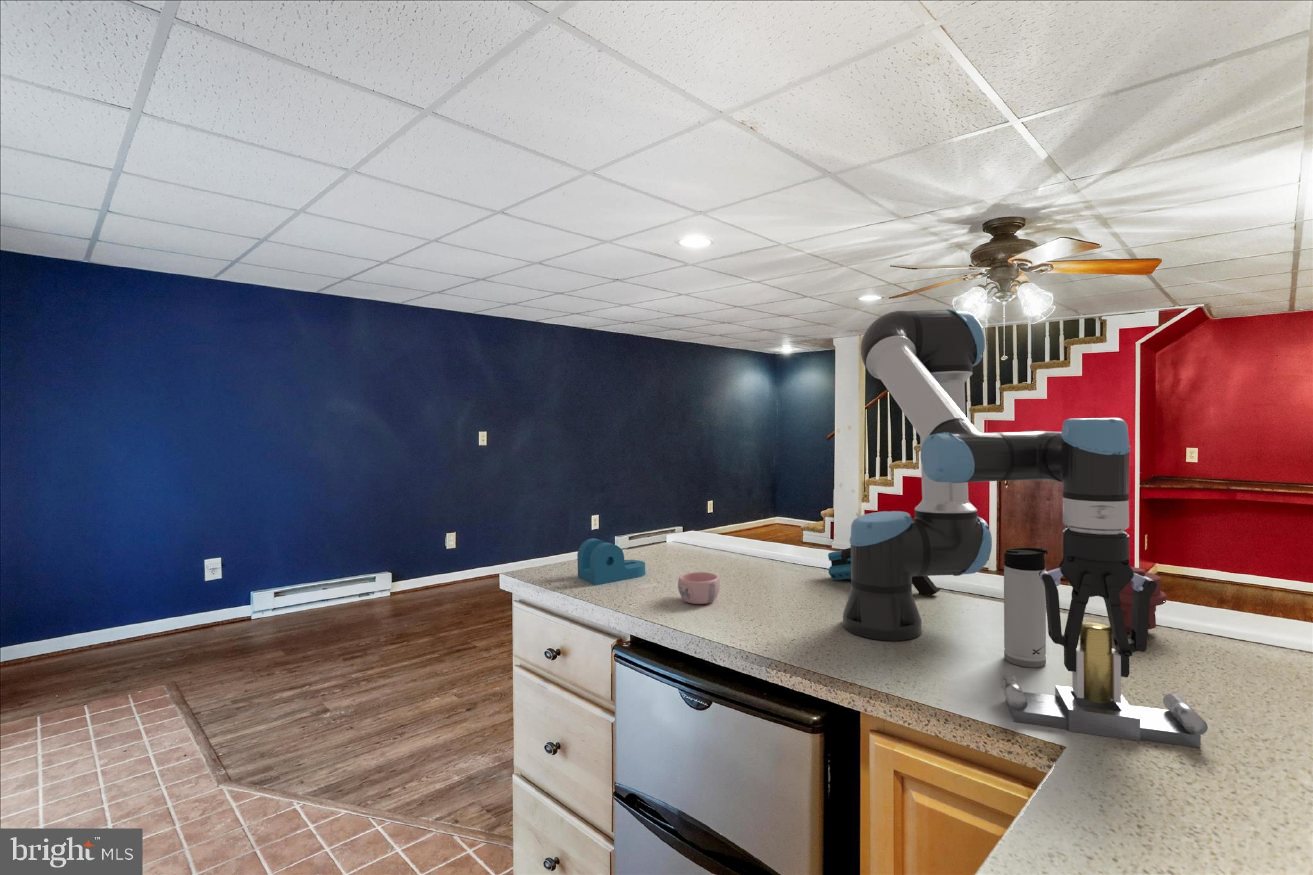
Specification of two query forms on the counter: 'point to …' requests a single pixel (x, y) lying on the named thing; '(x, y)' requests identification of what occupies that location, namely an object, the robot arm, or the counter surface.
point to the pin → (1097, 661)
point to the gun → (843, 571)
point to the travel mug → (1024, 607)
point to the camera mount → (606, 563)
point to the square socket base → (1106, 715)
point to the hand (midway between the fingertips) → (1096, 695)
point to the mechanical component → (1127, 599)
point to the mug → (698, 587)
